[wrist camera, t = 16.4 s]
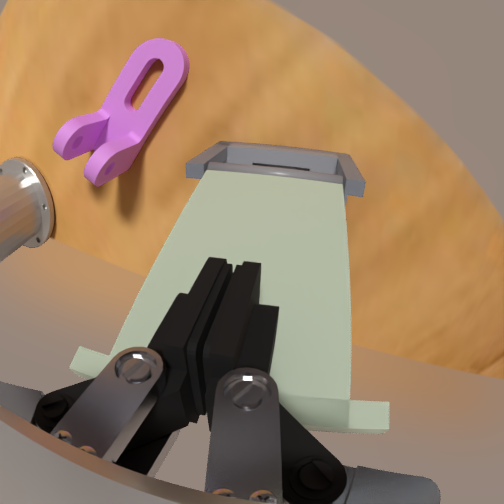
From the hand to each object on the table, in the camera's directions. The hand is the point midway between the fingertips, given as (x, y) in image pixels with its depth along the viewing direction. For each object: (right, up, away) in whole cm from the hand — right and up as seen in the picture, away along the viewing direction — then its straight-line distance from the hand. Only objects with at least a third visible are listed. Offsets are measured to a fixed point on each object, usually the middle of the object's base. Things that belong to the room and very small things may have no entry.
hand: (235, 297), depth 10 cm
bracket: (-10, +16, +16) cm, 24 cm away
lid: (+1, +1, +4) cm, 5 cm away
